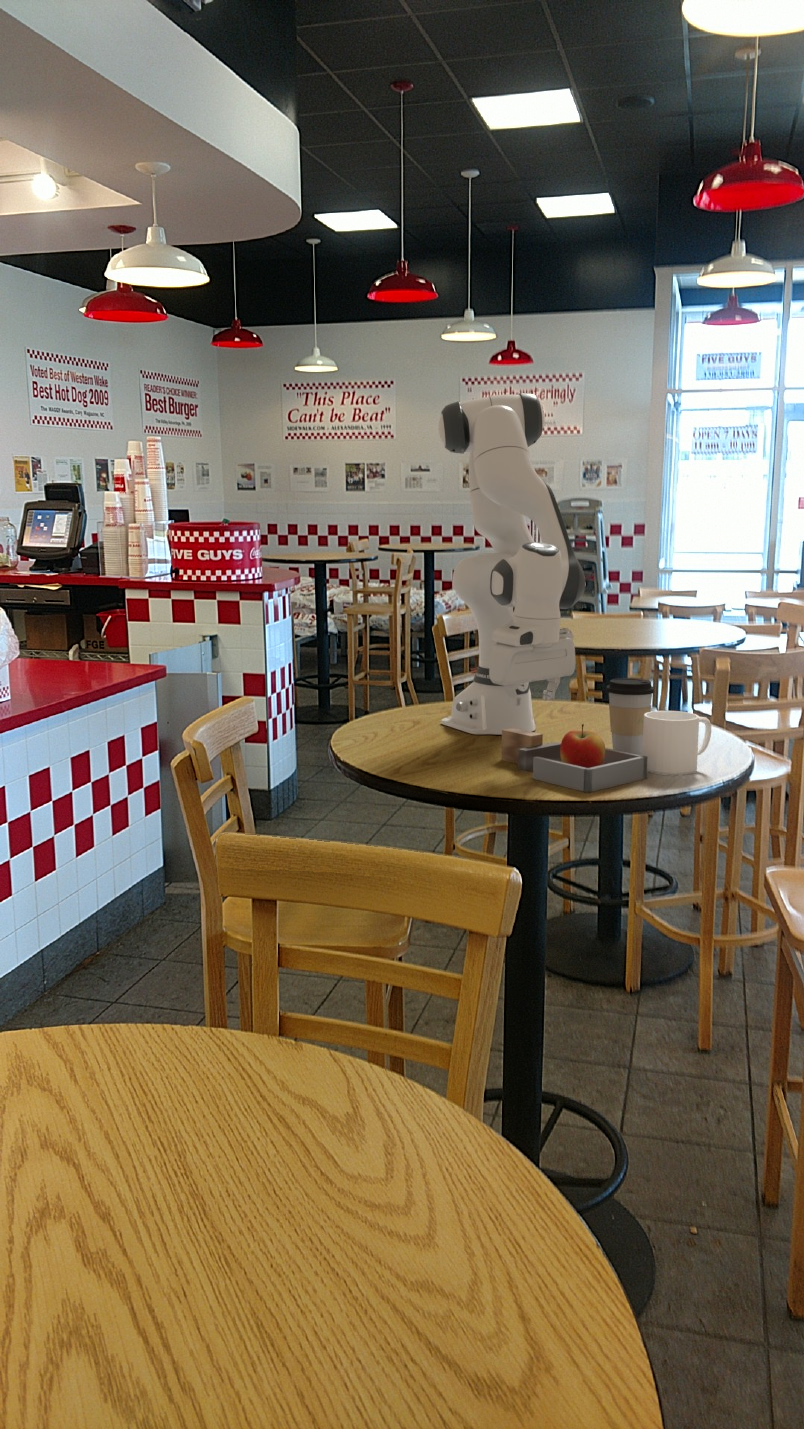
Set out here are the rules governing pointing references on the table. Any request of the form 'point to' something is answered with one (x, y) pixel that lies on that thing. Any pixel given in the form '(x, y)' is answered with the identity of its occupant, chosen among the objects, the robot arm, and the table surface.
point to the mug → (673, 741)
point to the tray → (592, 771)
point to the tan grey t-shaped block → (527, 748)
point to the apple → (582, 749)
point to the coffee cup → (628, 712)
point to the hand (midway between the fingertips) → (531, 703)
